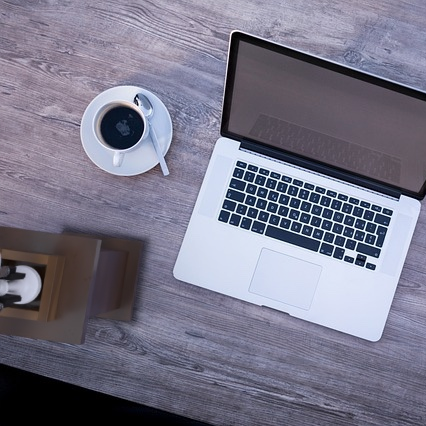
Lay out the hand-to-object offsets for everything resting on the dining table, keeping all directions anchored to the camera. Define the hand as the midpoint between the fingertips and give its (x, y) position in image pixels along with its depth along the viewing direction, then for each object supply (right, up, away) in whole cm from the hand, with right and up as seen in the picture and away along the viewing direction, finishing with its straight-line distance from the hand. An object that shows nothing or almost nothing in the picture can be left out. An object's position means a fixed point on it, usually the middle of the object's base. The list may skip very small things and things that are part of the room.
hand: (11, 285), depth 72 cm
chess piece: (0, 0, +3) cm, 3 cm away
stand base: (-1, -2, +30) cm, 31 cm away
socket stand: (0, 0, +6) cm, 6 cm away
